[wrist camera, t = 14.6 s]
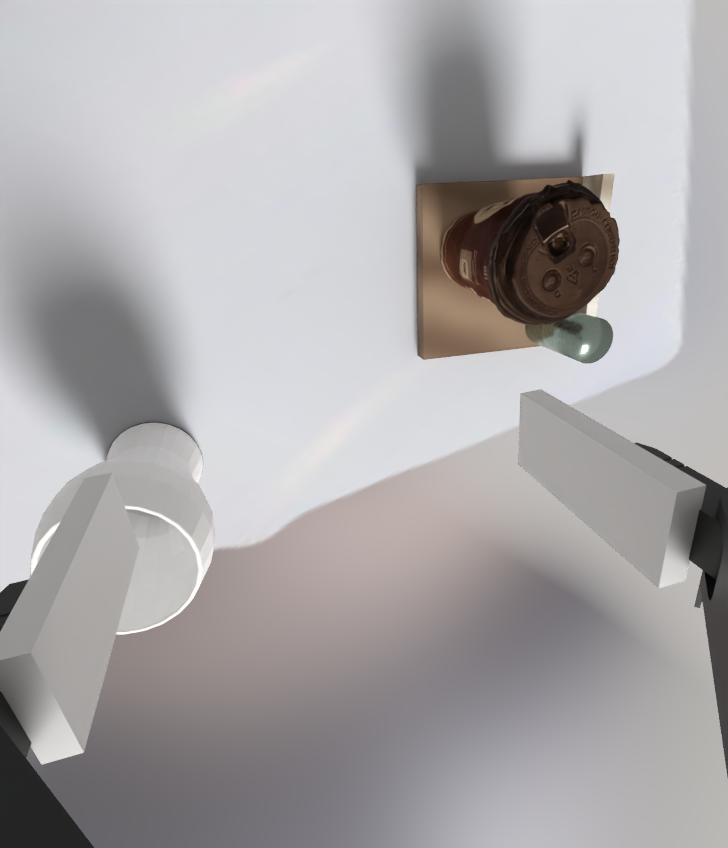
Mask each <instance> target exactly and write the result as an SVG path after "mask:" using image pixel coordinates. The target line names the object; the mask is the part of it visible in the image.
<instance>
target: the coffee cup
mask: <svg viewBox="0 0 728 848" xmlns="http://www.w3.org/2000/svg"><path fill="white" fill-rule="evenodd" d="M618 235H619V234H618V227H617V223H616V220H615V219H614V218H611V217H610V213H609V212H608V211H607V209H605V207H604V205H603V203H602V201H601V200H600V199H599V198H598V197H597V196H596V195H594V194H593V192H592V191H590V190H589V189H588V188H586V187H585V186H583V185H581V184H579V183H574V182H572V181H571V180H568V181H567V182H566V183H561V184H556V185H554V186H552V185H546V186H545V187H544V189H543V190H542V191H540V192H536V193H529V194H525V195H522V196H518V197H514V198H511V199H509V200H506V201H502V202H499V203H495V204H492V205H489V206H487V207H485V208H482V209H479V210H475V211H471V212H468V213H466V214H465V215H463V216H461V217H459V218H457V219H456V220H455V221H454V223H453V224H452V225H451V226H450V227H449V228H448V229H447V230H446V231H445V233H444V236H443V244H442V247H441V250H440V253H441V256H442V257H441V264H442V266H443V269H444V272H445V273H446V275H447V276H448V277H449V278H450V279H452V280H453V281H454V282H455V283H457V284H458V285H459V286H462V287H464V288H466V289H468V290H469V291H471V292H473V293H474V294H477V295H478V296H479V297H481V298H484V299H486V300H488V301H491V302H492V303H493V304H495V306H496V307H497V309H498V310H499V311H500V313H501V314H502V315H503V316H505V317H507V318H509V319H512V320H514V321H515V322H518V323H522V324H526V325H541V324H544V325H547V324H551V323H554V322H558V321H561V320H563V319H566V318H568V317H570V316H571V315H573V314H574V313H576V312H577V311H579V310H580V309H581V308H583V307H584V306H585V305H587V304H588V303H589V302H590V301H591V300H592V299H593V298H594V297H595V296H596V295H597V294H598V293H599V292H600V291H602V290H603V289H604V287H606V285H607V283H608V282H609V280H610V279H611V277H612V275H613V274H614V272H615V266H616V263H617V261H618V253H619V249H618V246H619V241H620V240H619V236H618Z"/></svg>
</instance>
